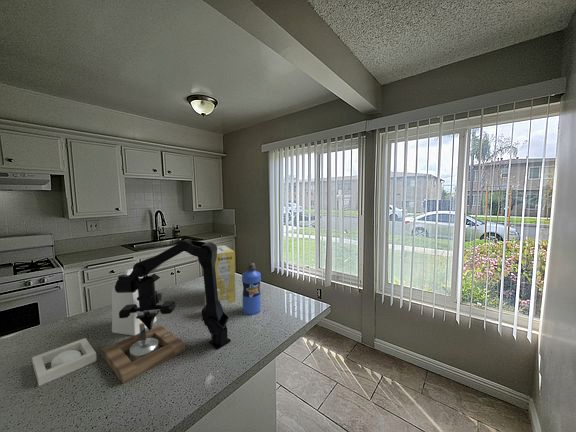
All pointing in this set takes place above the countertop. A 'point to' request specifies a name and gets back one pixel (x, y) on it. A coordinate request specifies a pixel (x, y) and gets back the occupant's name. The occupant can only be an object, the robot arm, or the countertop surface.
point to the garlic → (65, 357)
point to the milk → (119, 302)
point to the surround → (133, 369)
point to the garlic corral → (65, 368)
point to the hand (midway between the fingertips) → (150, 329)
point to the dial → (143, 345)
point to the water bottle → (251, 290)
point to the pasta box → (225, 274)
